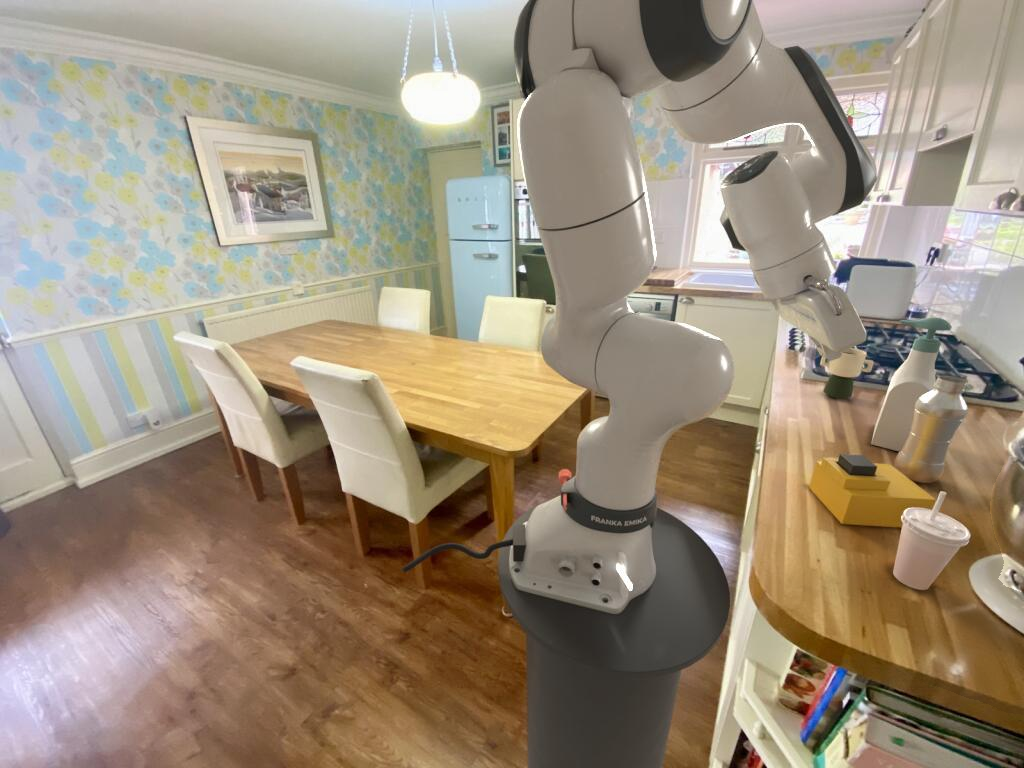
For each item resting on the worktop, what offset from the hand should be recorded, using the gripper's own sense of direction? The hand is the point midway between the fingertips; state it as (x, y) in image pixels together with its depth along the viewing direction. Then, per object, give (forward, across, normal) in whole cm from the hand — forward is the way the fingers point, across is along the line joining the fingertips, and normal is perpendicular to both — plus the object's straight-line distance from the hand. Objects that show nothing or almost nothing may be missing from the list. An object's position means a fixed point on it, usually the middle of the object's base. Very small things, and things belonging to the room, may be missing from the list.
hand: (831, 356), depth 60 cm
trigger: (+23, +4, +2) cm, 23 cm away
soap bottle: (+39, +31, -11) cm, 51 cm away
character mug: (+39, +56, -11) cm, 69 cm away
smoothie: (+30, -12, +5) cm, 32 cm away
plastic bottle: (+38, +16, -8) cm, 41 cm away
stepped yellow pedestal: (+30, +4, +4) cm, 31 cm away
